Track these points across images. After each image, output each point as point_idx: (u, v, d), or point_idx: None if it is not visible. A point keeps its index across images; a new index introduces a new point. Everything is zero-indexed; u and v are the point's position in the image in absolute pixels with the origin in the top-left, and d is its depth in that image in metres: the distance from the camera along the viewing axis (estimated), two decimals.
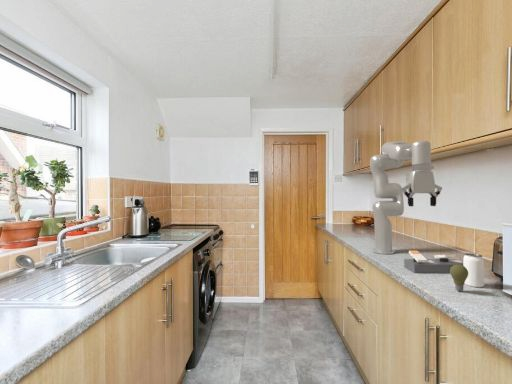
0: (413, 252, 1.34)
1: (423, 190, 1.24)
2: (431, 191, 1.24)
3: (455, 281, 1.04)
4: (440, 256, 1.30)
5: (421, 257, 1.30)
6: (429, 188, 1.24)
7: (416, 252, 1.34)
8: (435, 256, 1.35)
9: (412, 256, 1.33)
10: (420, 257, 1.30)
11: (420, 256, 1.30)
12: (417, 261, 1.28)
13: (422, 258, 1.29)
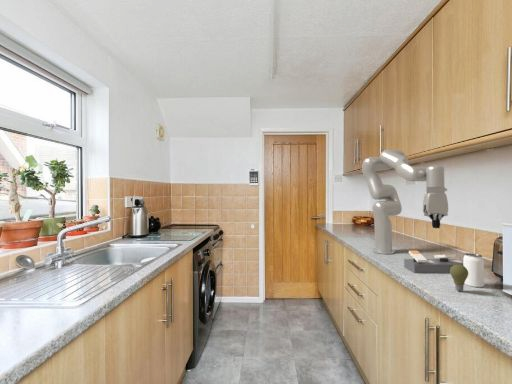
0: (413, 252, 1.34)
1: (437, 211, 1.35)
2: (445, 212, 1.35)
3: (455, 281, 1.04)
4: (440, 256, 1.30)
5: (421, 257, 1.30)
6: (443, 209, 1.35)
7: (416, 252, 1.34)
8: (435, 256, 1.35)
9: (412, 256, 1.33)
10: (420, 257, 1.30)
11: (420, 256, 1.30)
12: (417, 261, 1.28)
13: (422, 258, 1.29)
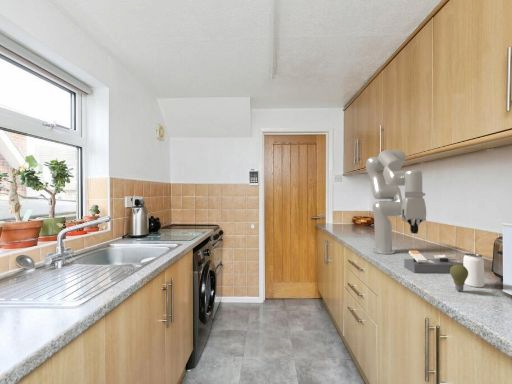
0: (413, 252, 1.34)
1: (415, 216, 1.33)
2: (423, 217, 1.33)
3: (455, 281, 1.04)
4: (440, 256, 1.30)
5: (421, 257, 1.30)
6: (421, 214, 1.33)
7: (416, 252, 1.34)
8: (435, 256, 1.35)
9: (412, 256, 1.33)
10: (420, 257, 1.30)
11: (420, 256, 1.30)
12: (417, 261, 1.28)
13: (422, 258, 1.29)
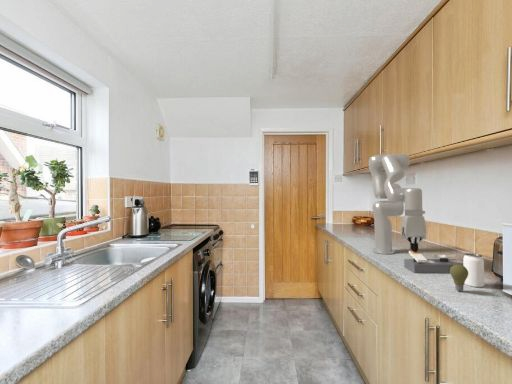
0: (413, 252, 1.34)
1: (415, 234, 1.33)
2: (423, 235, 1.33)
3: (455, 281, 1.04)
4: (440, 256, 1.30)
5: (421, 257, 1.30)
6: (421, 232, 1.33)
7: (416, 252, 1.34)
8: (435, 256, 1.35)
9: (412, 256, 1.33)
10: (420, 257, 1.30)
11: (420, 256, 1.30)
12: (417, 261, 1.28)
13: (422, 258, 1.29)
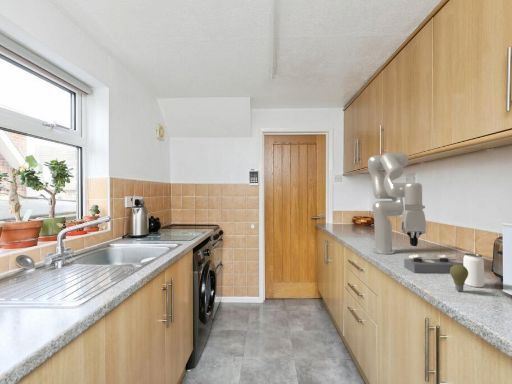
0: None
1: (415, 229, 1.33)
2: (422, 230, 1.33)
3: (455, 281, 1.04)
4: (440, 256, 1.30)
5: None
6: (420, 227, 1.33)
7: None
8: (435, 256, 1.35)
9: (412, 257, 1.33)
10: None
11: None
12: (417, 256, 1.28)
13: None
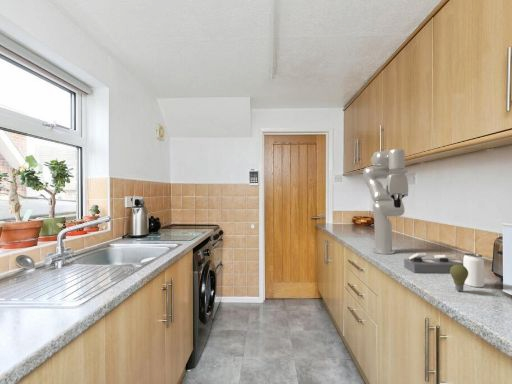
0: None
1: (398, 191, 1.44)
2: (405, 192, 1.44)
3: (455, 281, 1.04)
4: (440, 256, 1.30)
5: None
6: (403, 189, 1.44)
7: None
8: (435, 256, 1.35)
9: (412, 257, 1.32)
10: None
11: None
12: (417, 255, 1.28)
13: None
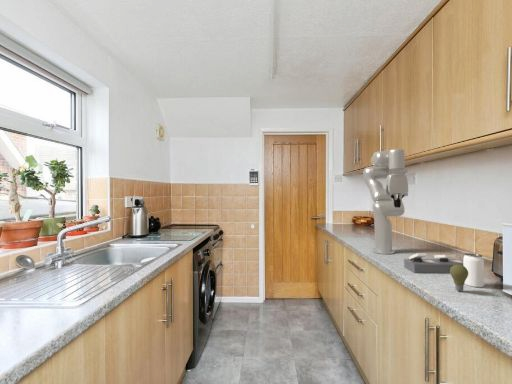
0: None
1: (398, 191, 1.44)
2: (405, 192, 1.44)
3: (455, 281, 1.04)
4: (440, 256, 1.30)
5: None
6: (403, 189, 1.44)
7: None
8: (435, 256, 1.35)
9: (412, 257, 1.32)
10: None
11: None
12: (417, 255, 1.28)
13: None
